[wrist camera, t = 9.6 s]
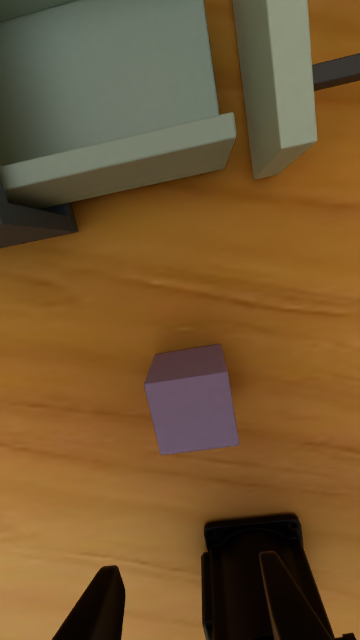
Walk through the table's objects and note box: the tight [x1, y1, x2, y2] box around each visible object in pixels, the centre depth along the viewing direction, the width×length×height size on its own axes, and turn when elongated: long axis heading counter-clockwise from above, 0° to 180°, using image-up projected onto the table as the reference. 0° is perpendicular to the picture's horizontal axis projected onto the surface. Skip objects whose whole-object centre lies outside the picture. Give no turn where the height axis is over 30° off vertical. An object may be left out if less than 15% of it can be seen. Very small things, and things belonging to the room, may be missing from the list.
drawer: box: [0, 0, 360, 209], centre depth 11 cm, size 18×9×5 cm, turn 101°
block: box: [144, 344, 239, 455], centre depth 16 cm, size 4×4×4 cm
